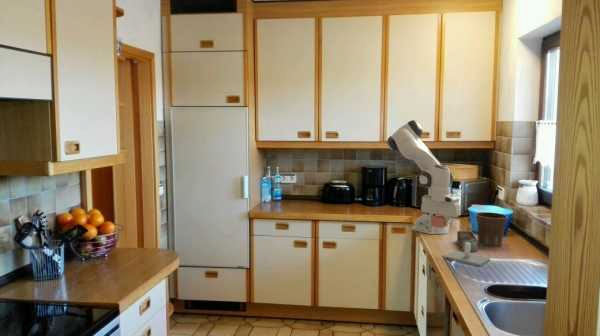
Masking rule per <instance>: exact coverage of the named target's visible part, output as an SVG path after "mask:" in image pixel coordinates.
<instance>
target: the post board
mask: <svg viewBox="0 0 600 336" xmlns="http://www.w3.org/2000/svg"><path fill="white" fill-rule="evenodd" d="M470 246H471V243H465V251H464V252H463V251H457V250H454V251H452V252H450V253H448V254H446V255H444V256H443V258H444V259H445V258H448V259H447V260H449V259H453V260H456V261H455V262H459V263H462V264H467V265H472V266H476V267H482V266H484V265H485V264H487V263H489V262H490V261H491V257H485V256H482V255H475V254H471V251H470ZM453 260H452V261H453Z"/></svg>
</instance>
